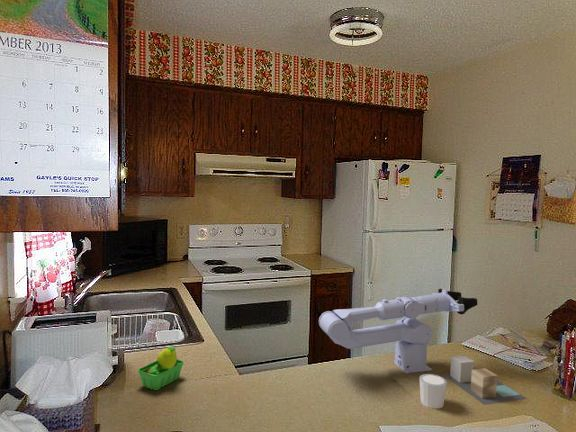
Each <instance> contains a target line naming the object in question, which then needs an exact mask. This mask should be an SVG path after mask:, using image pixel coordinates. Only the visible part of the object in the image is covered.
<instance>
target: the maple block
mask: <svg viewBox="0 0 576 432" xmlns="http://www.w3.org/2000/svg"><path fill="white" fill-rule="evenodd" d="M497 380H498V375H497V374H496V373H494V372H492V371H490V370H488V369H487V368H486V367H485V368H478V369H475V368H474V370H472V375H471V391H472V392H474V393H475V394H477V395H478V396H479V397H481V398H482V399H483V398H490V397H496V388H497Z"/></svg>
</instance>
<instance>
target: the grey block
mask: <svg viewBox="0 0 576 432" xmlns="http://www.w3.org/2000/svg"><path fill="white" fill-rule="evenodd" d="M474 366H475V361H474V360H473V359H470V358H469V357H468V356H465V355H456V356H455V355H454V356H450V372H449V373H450V376H451V377H453V378H454V379H455V380H457V381H458V382H460V383H463V382H471V375H472V370H475V367H474Z"/></svg>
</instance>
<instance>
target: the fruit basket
mask: <svg viewBox="0 0 576 432" xmlns="http://www.w3.org/2000/svg"><path fill="white" fill-rule="evenodd" d="M176 351H177V350H176V347H174V346H172V345H169V346H167V347H166V348H165V349H163V350H162V351H160V352H159V353H158V354H157V356H156V360H155V361H153V362H151V363H149V364H147V365H144V366H142V367H140V368H138V369H137V372H138V374H139V376H140V380H141V383H142V386H143V387H144V388H147V389H149V388H150V389H149V390H153V389H154V391H155V390H157V391H159V390H160V389H162V388H164V387H165V385H166V386H167V385H169V384H170V383H172V382H174V381H176V380H178V379H179V378H180V374H181V371H182V367H183V365H184V363H185V361H184V360H181V359H178V358H177V357H178V356H177V352H176ZM161 387H162V388H161Z"/></svg>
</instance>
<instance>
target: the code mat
mask: <svg viewBox="0 0 576 432" xmlns="http://www.w3.org/2000/svg"><path fill="white" fill-rule="evenodd" d="M441 375H442V376H444V377H445V378H446V379H448V380H449V381H451V382H452V383H453V384H455V385H456V386H458V387H459V388H461V390H463V391H464V392H466V393H467V394H469V395H470V396H471V397H473V398H474V399H476V401H479V402H480V403H481V404H483V405H484V406H486V405H492V404H501V403H507V402H514V401H521V400H527V399H528V398H527V397H525V396H524V395H522V394H521V393H519V392H517V391H516V390H514V389H512V388H510V387H509V386H507V385H506V384H504V383H503V382H501V381H499V380H498V379H497V388H496V397H490V398H483V399H482V398H481V397H479V396H478V395H477V394H475V393H474V392H472V391H471V382H463V383H460V382H458V381H457V380H455V379H454V378H453V377H451V376H450V372H448V373H447V372H446V373H441Z"/></svg>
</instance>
